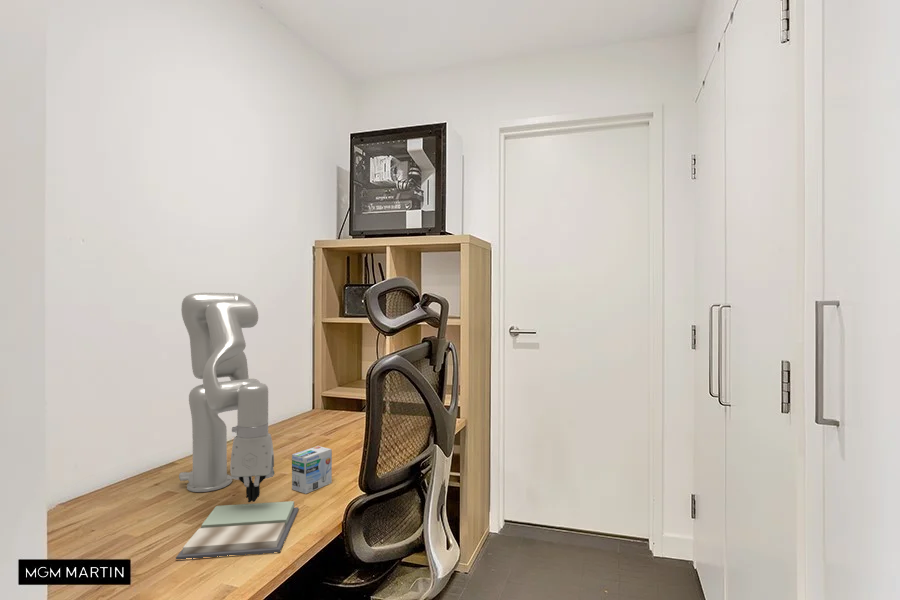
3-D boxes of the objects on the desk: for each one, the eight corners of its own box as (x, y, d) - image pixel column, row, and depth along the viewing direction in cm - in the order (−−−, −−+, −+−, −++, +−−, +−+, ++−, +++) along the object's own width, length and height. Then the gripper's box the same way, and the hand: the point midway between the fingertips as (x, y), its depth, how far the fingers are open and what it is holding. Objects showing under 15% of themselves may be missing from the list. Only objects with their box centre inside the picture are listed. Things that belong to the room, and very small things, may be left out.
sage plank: (201, 531, 114) (201, 525, 114) (216, 511, 124) (216, 505, 124) (286, 525, 117) (286, 519, 117) (294, 506, 127) (294, 501, 127)
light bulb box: (306, 494, 138) (305, 458, 138) (290, 490, 142) (290, 454, 142) (332, 482, 147) (332, 448, 147) (317, 478, 151) (317, 445, 151)
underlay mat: (175, 560, 103) (175, 557, 103) (213, 515, 124) (213, 512, 125) (279, 552, 106) (279, 549, 106) (298, 510, 127) (298, 507, 127)
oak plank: (182, 554, 104) (182, 547, 104) (200, 533, 113) (200, 526, 113) (276, 547, 106) (276, 540, 106) (285, 527, 116) (285, 521, 116)
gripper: (218, 435, 119) (218, 507, 119) (279, 433, 121) (279, 504, 121) (228, 427, 126) (228, 495, 126) (285, 425, 128) (285, 492, 128)
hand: (252, 499), depth 124 cm, fingers closed
